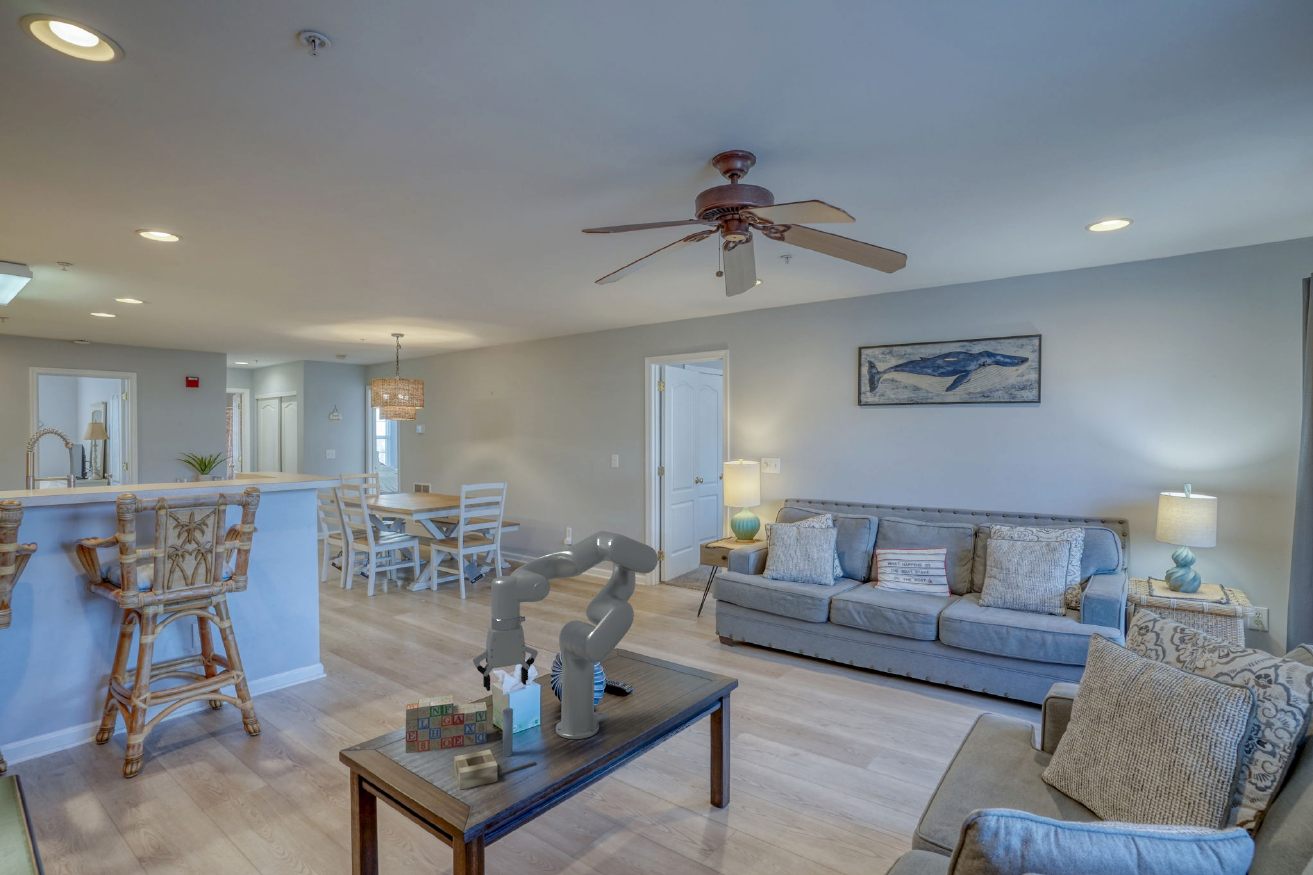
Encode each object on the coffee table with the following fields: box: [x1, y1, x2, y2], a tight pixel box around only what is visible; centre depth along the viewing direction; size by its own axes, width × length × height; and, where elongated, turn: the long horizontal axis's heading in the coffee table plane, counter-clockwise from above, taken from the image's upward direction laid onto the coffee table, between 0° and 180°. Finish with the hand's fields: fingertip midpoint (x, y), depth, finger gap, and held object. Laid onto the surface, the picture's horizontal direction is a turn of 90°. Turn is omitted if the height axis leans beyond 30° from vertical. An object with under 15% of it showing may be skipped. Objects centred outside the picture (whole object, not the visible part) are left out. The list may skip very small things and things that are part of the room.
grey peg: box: [502, 707, 514, 758], centre depth 171 cm, size 3×3×12 cm
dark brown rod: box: [498, 760, 537, 777], centre depth 164 cm, size 10×1×1 cm, turn 127°
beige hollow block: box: [453, 749, 498, 791], centre depth 160 cm, size 9×9×4 cm
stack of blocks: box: [405, 694, 488, 754], centre depth 178 cm, size 21×6×12 cm, turn 108°
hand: (506, 686), depth 172 cm, fingers open, 9 cm apart
